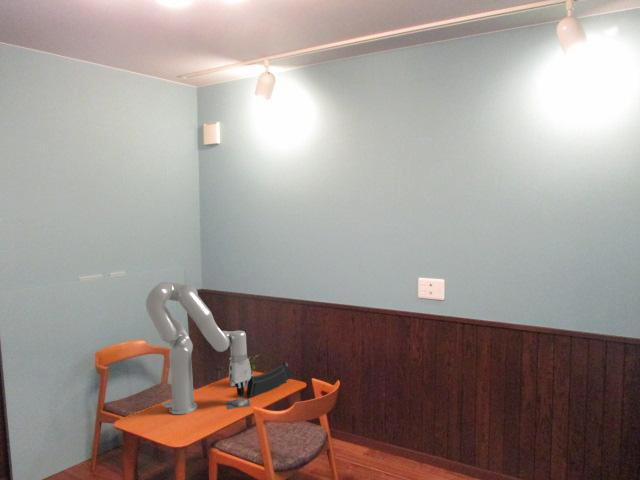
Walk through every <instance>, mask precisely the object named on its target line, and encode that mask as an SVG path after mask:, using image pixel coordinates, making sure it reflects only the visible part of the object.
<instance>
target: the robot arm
mask: <svg viewBox="0 0 640 480" xmlns="http://www.w3.org/2000/svg"><path fill="white" fill-rule="evenodd" d="M168 301H174V302H178V303H179V304H180V306H181V307H182V308H183V309H184V311H185V312H186V313H187V314H188V315H189V317H190V318H191V319H192V321H194V323H195V324H196V326H197V328H198V329H199V331H200V332H201V334H202V335H203V337H204V338H205V340H207V342H208V343H209V344H210V345H211V347H212V348H213V349H214V350H215V351H216V352H220V353H221V352H225V351H227V350H228V348H229V347H230V357H229V358H228V360H229V367H228V380H229V382H230V383H229V386H231V387H235V388H236V394H237V396H239V397H243V396H245V387H246V386H245V384H246V382H248V381H249V380H250V379H251V372H252V370H251V367H250V362H251V361H250V362H249V357H248V358H247V356H248V351H247V350H248V349H247V334H246V332H245V331H244V330H234V331H230V330H229V331H228V330H221V329H220V327H219V326H218V324H217V323H216V321H215V319H214V316H213V314H212V311H211V310H210V309H209V307H208V306H207V305H206V304H205V303H204V301H203V300H202V299H201V297H200V296H199V293H198V289H197V288H195V286H193V285H189V284H188V285H187V284H182V283H177V282H171V281H170V282H169V281H162V282H159V283H158V284H157V285H155V286H154V287H152V289H151V290H150V292H149V293H148V295H147V297H146V300H145V308H146V312H147V315H148V316H149V318H150V319H151V321H152V324H153V325H154V328H155V329H156V332H157V333H158V335H159V337H160V339H161V340H162V341H163V342H164V343H166V344H167V343H168V344H169V346H170V347H171V348H170V350H169V355H168V357H169V358H168V359H169V365H170V366H169V367H170V381H171V400H169V401H164V402H162V407H163V408H165V409H167V408H169V409H168V410H169V413H170V414H173V415H186V414H190V413H193V412H194V411H196V410H197V409H198V404H197V403H196V402H194V401H195V399H194V381H193V366H192V353H193V347H194V345H193V342H192V340H191V338H190V336H189V335H188V333H187V331H186V329H185V327H184V326H183V323H182V322H181V321H180V320H178V319H177V318H174V317H173V316H172V314H171V312H170V310H169V309H168V307H167V305H166V304H167V302H168Z"/></svg>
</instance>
